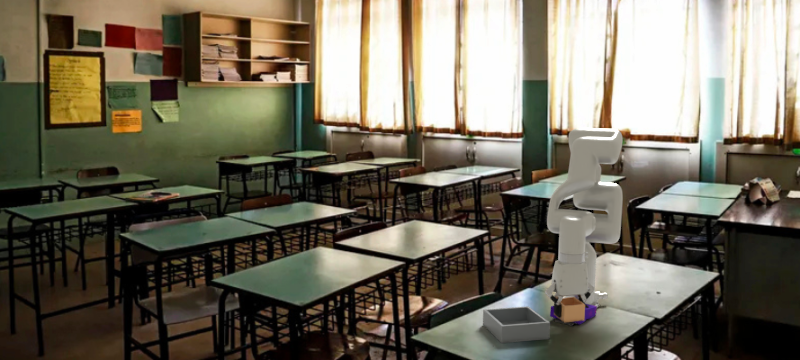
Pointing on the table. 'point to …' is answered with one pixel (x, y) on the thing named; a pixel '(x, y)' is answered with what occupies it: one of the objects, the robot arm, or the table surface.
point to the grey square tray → (516, 324)
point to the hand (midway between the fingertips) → (569, 314)
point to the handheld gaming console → (589, 313)
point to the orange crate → (572, 310)
